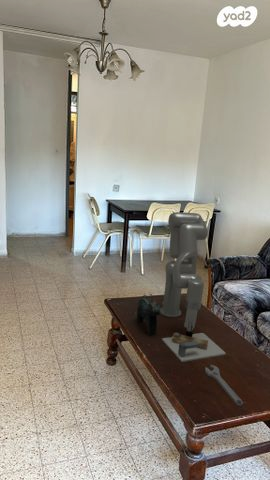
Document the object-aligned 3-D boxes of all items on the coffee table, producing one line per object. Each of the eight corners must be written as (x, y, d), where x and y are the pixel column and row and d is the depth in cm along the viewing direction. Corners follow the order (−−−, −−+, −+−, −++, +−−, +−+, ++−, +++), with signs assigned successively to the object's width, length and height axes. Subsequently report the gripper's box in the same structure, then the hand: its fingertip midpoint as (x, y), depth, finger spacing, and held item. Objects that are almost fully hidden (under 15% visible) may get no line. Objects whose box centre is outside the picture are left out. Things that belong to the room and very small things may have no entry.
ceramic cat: (158, 336, 184) (162, 300, 179) (147, 337, 182) (151, 301, 177) (143, 318, 202) (147, 285, 197) (133, 319, 200) (136, 286, 195)
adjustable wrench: (244, 407, 138) (244, 403, 138) (228, 408, 136) (229, 404, 136) (215, 368, 162) (215, 364, 161) (202, 369, 160) (202, 365, 159)
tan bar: (171, 341, 178) (172, 334, 177) (173, 337, 182) (174, 330, 181) (206, 349, 173) (207, 342, 172) (207, 345, 177) (208, 338, 177)
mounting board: (162, 339, 181) (163, 328, 179) (202, 334, 190) (204, 323, 189) (181, 362, 163) (183, 349, 162) (225, 354, 172) (227, 342, 171)
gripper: (187, 296, 184) (182, 329, 189) (183, 308, 170) (179, 343, 175) (202, 299, 183) (197, 332, 187) (199, 311, 169) (195, 346, 173)
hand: (188, 337), depth 181 cm, fingers closed
